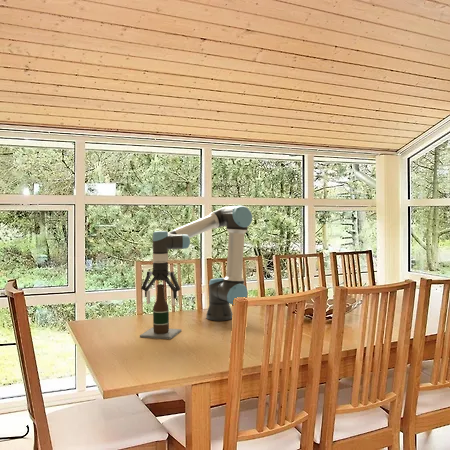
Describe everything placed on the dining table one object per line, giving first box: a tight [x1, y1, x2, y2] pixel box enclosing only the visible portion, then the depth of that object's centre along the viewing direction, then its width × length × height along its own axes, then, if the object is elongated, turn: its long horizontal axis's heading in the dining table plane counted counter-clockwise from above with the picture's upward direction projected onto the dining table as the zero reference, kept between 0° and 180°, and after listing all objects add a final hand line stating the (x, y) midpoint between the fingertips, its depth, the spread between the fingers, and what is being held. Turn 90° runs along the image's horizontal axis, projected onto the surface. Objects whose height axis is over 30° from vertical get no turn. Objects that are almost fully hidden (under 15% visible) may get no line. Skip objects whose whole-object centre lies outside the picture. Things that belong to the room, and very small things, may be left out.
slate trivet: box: [139, 327, 182, 340], centre depth 240 cm, size 16×16×1 cm
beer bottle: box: [152, 283, 170, 334], centre depth 239 cm, size 8×8×24 cm
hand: (160, 304), depth 239 cm, fingers open, 13 cm apart
